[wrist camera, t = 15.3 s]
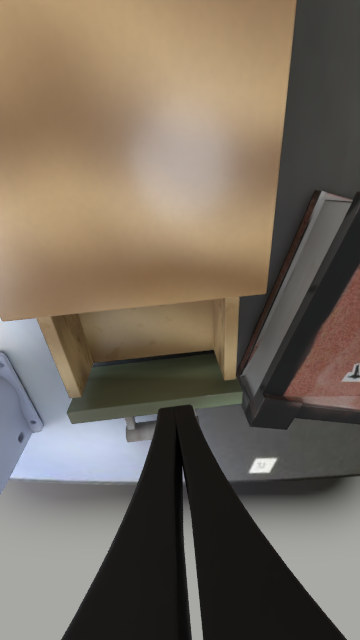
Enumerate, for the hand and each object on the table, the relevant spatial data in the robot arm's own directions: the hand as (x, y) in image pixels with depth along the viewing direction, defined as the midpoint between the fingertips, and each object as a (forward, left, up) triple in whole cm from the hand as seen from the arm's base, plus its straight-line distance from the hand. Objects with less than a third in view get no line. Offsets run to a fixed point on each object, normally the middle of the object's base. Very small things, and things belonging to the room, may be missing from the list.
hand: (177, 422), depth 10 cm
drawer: (-1, +1, -10) cm, 10 cm away
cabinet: (+10, +1, -10) cm, 15 cm away
